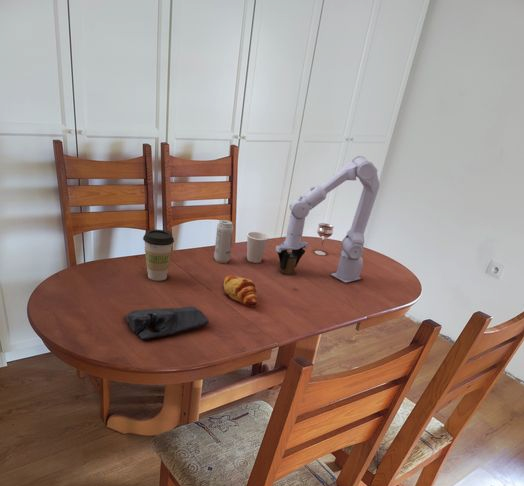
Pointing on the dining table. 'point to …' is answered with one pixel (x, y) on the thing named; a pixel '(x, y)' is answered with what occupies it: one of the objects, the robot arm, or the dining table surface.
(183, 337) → the dining table surface
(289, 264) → the tea tin
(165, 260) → the coffee cup
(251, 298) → the croissant
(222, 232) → the energy drink can
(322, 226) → the wineglass
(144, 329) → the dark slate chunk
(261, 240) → the dixie cup
